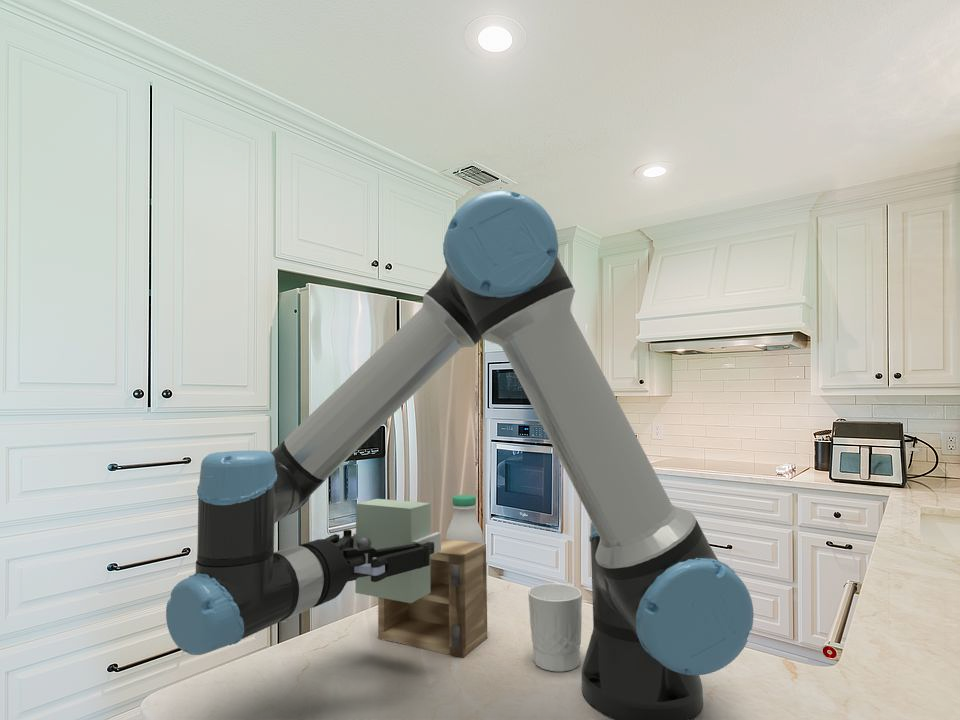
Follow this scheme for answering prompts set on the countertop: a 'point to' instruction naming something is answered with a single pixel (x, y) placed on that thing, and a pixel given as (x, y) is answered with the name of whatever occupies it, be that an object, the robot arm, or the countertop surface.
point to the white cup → (555, 626)
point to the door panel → (393, 545)
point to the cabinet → (443, 604)
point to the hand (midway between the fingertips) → (409, 537)
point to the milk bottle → (464, 520)
